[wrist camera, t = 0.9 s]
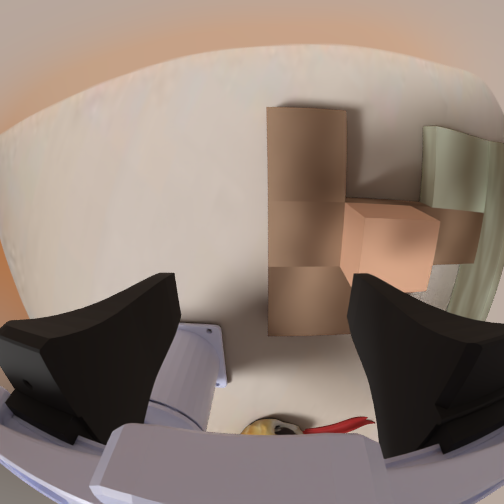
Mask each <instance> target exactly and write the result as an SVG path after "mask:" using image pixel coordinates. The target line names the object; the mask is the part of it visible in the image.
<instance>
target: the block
mask: <svg viewBox="0 0 504 504" xmlns="http://www.w3.org/2000/svg"><path fill="white" fill-rule="evenodd" d="M439 228H440V221H439V220H437V219H435V218H433V217H431V216H429V215H428V214H426V213H424V212H422V211H420V210H418V209H416V208H414V207H412V206H405V205H389V204H370V203H346V202H345V212H344V226H343V239H342V250H341V260H340V268H341V269H342V271H343V273H344V275H345V277H346V279H347V280H348V282H349V284H350V286H351V287H352V281H353V273H369V274H371V275H374V276H376V277H378V278H379V279H381V280H383V281H385V282H387V283H388V284H390V285H392V286H394V287H395V288H397V289H399V290H401V291H403V292H404V293H405V292H420V291H426V290H427V286H428V282H429V278H430V274H431V269H432V265H433V260H434V256H435V250H436V245H437V240H438V234H439Z"/></svg>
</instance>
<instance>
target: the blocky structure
mask: <svg viewBox="0 0 504 504" xmlns="http://www.w3.org/2000/svg"><path fill="white" fill-rule="evenodd" d="M266 108H267V156H268V336H314V335H337V334H351V333H350V329H349V324H348V320H347V312H348V306H349V300H350V294H351V286H350V284H349V282H348V280H347V279H346V277H345V275H344V273H343V271H342V269H341V268H340V260H341V250H342V239H343V226H344V212H345V202H346V203H370V204H389V205H405V206H412V207H414V208H416V209H418V210H420V211H422V212H424V213H426V214H428V215H429V216H431V217H433V218H435V219H437V220H439V221H440V228H439V234H438V240H437V245H436V250H435V256H434V260H433V265H441V264H460V266H459V270H458V274H457V278H456V281H455V285H454V288H453V292H452V295H451V299H450V302H449V305H448V308H447V312H449V313H452V314H456V315H459V316H463V317H466V318H470V319H475V320H480V321H485V320H486V318H487V315H488V313H489V310H490V307H491V305H492V302H493V299H494V296H495V293H496V290H497V287H498V284H499V281H500V277H501V274H502V270H503V267H504V143H501V142H492V141H487V140H484V139H481V138H478V137H475V136H472V135H468V134H465V133H462V132H458V131H454V130H451V129H447V128H443V127H439V126H424V127H423V160H422V179H421V192H420V202H416V201H403V200H389V199H372V198H350V197H345V194H346V164H347V118H346V111H343V110H332V109H318V108H295V107H266ZM405 293H407V292H405Z"/></svg>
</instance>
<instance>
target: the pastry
mask: <svg viewBox="0 0 504 504" xmlns="http://www.w3.org/2000/svg"><path fill="white" fill-rule="evenodd" d="M241 434H244V435H299V434H303V432H302V431H301V430H300V428H299V427H298V426H297V425H294V424H291V423H286V422H281V421H279V420H276V419H261V420H258V421H255V422H254V423H253V424H251V425H248V426H247V427H246V428H245V429H244V430H243V431H242V433H241Z"/></svg>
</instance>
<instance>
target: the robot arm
mask: <svg viewBox="0 0 504 504" xmlns="http://www.w3.org/2000/svg"><path fill="white" fill-rule="evenodd" d="M180 318H181V311H180V306H179V300H178V294H177V287H176V281H175V274H174V273H158V274H155V275H153V276H151V277H149V278H147V279H145V280H143V281H141V282H139V283H137V284H135V285H133V286H131V287H129V288H128V289H126V290H124V291H121V292H119V293H117V294H115V295H113V296H111V297H109V298H107V299H105V300H102V301H100V302H98V303H95V304H92V305H90V306H87V307H84V308H81V309H77V310H74V311H70V312H67V313H63V314H59V315H54V316H49V317H43V318H37V319H26V320H11V321H8V322H6V324H4V325H3V326H2V327H1V328H0V366H1V368H2V370H3V371H4V373H5V375H6V376H7V378H8V379H9V381H10V383H11V384H12V386H13V387H14V388H15V390H14V391H13V392H12V394H10V393H9V392H8V391H7V390H6V389H4V388H3V387H2V386H0V463H1V464H2V465H3V466H5V467H6V468H7V469H8V470H10V471H11V472H12V473H13V474H15V475H16V476H17V477H19V478H20V479H22V480H23V481H24V482H26V483H27V484H29V485H30V486H31V487H33V488H34V489H36V490H37V491H39V492H40V493H42V494H44V495H45V496H47V497H48V498H50V499H51V500H53V501H55V502H57V503H58V504H475V503H477V502H478V501H480V500H481V499H483V498H485V497H486V496H488V495H489V494H491V493H493V492H494V491H496V490H497V489H498V488H500V487H501V486H503V485H504V324H501V323H491V322H485V321H480V320H475V319H470V318H466V317H463V316H459V315H456V314H452V313H449V312H446V311H444V310H441V309H438V308H436V307H434V306H431V305H429V304H426V303H424V302H422V301H420V300H418V299H416V298H414V297H412V296H410V295H408V294H406V293H404V292H403V291H401V290H399V289H397V288H395V287H394V286H392V285H390V284H388V283H387V282H385V281H383V280H381V279H379V278H378V277H376V276H374V275H371V274H369V273H353V281H352V287H351V294H350V300H349V306H348V312H347V320H348V324H349V329H350V333H351V336H352V339H353V342H354V344H355V347H356V349H357V352H358V355H359V357H360V360H361V362H362V365H363V367H364V370H365V373H366V375H367V378H368V382H369V385H370V389H371V394H372V399H373V403H374V409H375V415H376V421H377V428H378V437H379V443H378V442H376V441H373V440H371V439H369V438H367V437H365V436H363V435H360V434H357V433H316V434H299V435H244V434H227V433H215V432H206V429H207V425H208V420H209V415H210V410H211V405H212V400H213V396H214V391H215V387H221V388H224V387H226V386H227V375H226V367H225V358H224V350H223V340H222V331H221V327H220V326H218V325H212V324H192V323H179V321H180ZM208 329H211V330H212V331H209V330H208Z"/></svg>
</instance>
